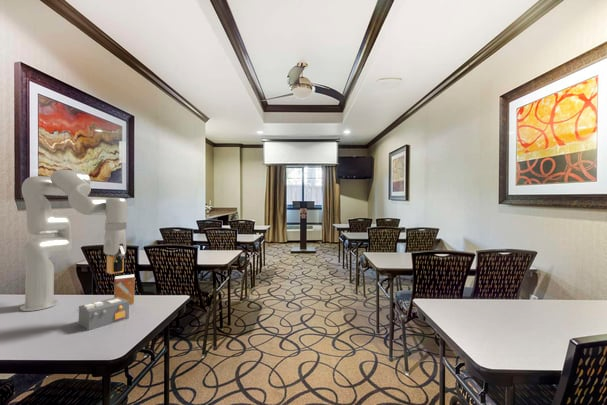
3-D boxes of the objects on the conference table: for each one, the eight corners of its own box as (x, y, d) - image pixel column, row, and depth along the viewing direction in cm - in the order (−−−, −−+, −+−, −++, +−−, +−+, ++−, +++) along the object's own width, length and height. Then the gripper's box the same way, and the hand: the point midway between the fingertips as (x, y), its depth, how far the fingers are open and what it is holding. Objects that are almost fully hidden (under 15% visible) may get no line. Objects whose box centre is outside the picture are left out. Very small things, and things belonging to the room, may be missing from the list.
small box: (113, 307, 128) (114, 279, 129) (114, 303, 134) (114, 276, 134) (134, 304, 133) (134, 276, 133) (133, 300, 138) (134, 273, 138)
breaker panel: (78, 323, 110) (79, 303, 110) (117, 312, 122) (118, 294, 122) (89, 330, 104) (90, 309, 105) (129, 318, 116) (129, 299, 116)
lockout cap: (106, 272, 116) (106, 255, 116) (118, 270, 120) (118, 254, 120) (111, 274, 113) (111, 256, 113) (123, 272, 117) (123, 255, 117)
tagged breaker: (106, 315, 116) (106, 301, 116) (117, 312, 119) (117, 298, 119) (110, 317, 114) (111, 303, 114) (121, 314, 117) (121, 300, 117)
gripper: (96, 226, 118) (96, 269, 118) (115, 228, 109) (114, 275, 109) (116, 225, 124) (115, 266, 124) (135, 227, 115) (134, 271, 115)
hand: (115, 270), depth 116 cm, fingers closed on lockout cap, 4 cm apart
